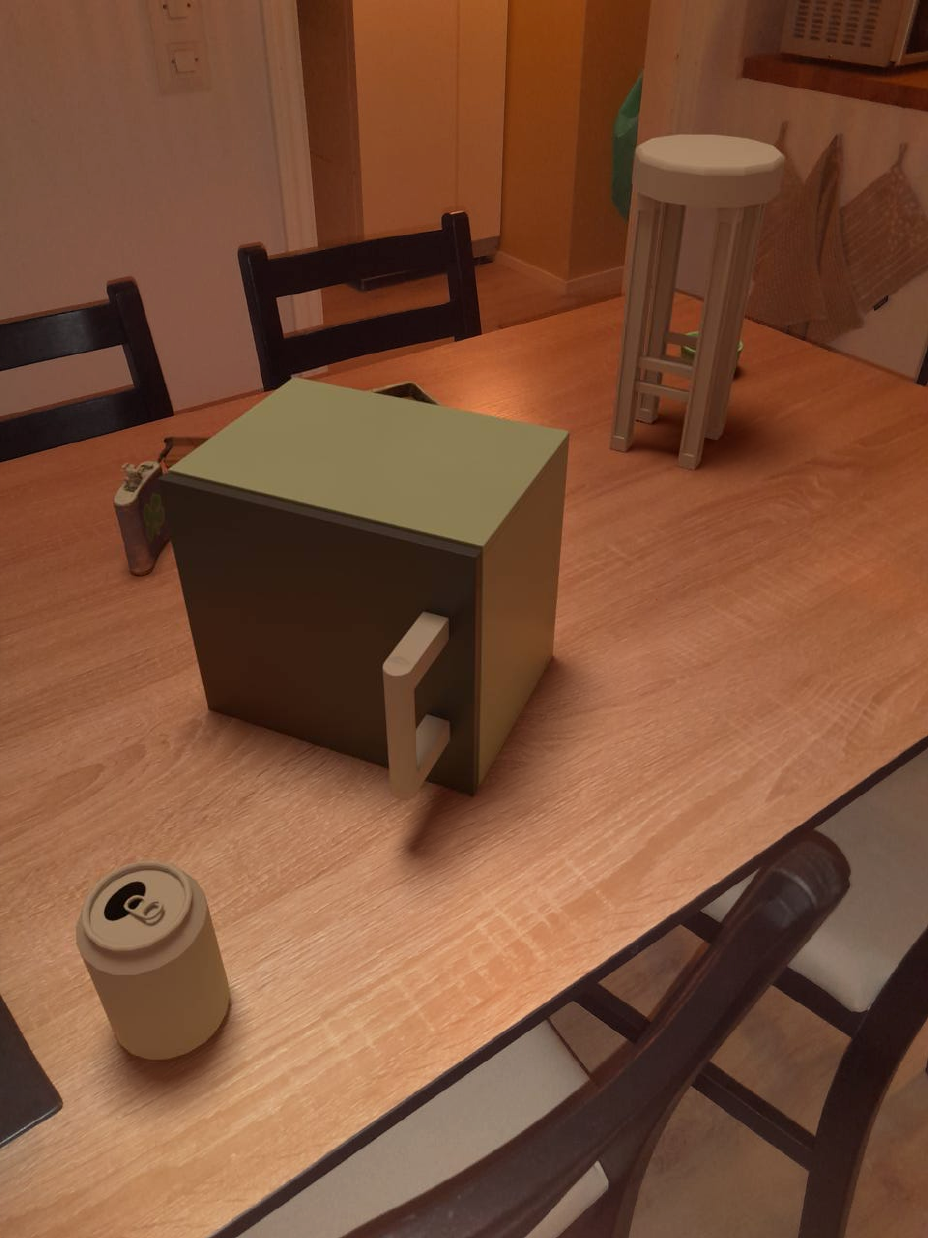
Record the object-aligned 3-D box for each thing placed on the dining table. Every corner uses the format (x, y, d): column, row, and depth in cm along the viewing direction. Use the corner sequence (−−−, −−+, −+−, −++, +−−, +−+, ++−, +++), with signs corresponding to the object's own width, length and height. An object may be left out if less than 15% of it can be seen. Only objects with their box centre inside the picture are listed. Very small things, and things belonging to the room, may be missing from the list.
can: (166, 944, 67) (129, 831, 60) (254, 987, 65) (228, 876, 57) (89, 1036, 62) (39, 926, 55) (182, 1088, 59) (143, 979, 52)
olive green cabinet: (479, 787, 79) (483, 545, 64) (216, 701, 87) (167, 469, 72) (552, 656, 92) (570, 430, 77) (318, 591, 100) (293, 376, 85)
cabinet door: (436, 861, 73) (431, 617, 58) (158, 761, 81) (93, 525, 66) (478, 788, 79) (482, 549, 64) (214, 701, 86) (165, 472, 72)
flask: (149, 578, 102) (127, 489, 95) (122, 576, 102) (98, 487, 95) (179, 530, 109) (161, 445, 102) (154, 528, 109) (134, 443, 103)
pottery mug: (142, 507, 114) (139, 436, 112) (201, 506, 122) (200, 440, 121) (216, 509, 107) (214, 433, 106) (274, 508, 116) (273, 438, 114)
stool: (704, 481, 118) (760, 173, 96) (588, 450, 124) (615, 154, 102) (742, 430, 128) (800, 142, 107) (633, 404, 134) (667, 127, 113)
